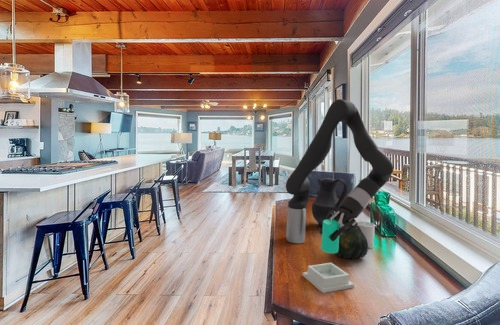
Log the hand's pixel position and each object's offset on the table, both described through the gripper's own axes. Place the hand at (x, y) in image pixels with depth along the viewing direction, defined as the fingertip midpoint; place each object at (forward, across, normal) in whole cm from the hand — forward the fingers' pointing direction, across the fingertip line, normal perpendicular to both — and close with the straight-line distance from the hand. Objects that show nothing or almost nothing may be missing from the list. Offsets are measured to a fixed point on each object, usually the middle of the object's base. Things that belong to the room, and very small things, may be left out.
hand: (326, 236), depth 104 cm
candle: (+2, 0, +5) cm, 6 cm away
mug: (-18, -27, +42) cm, 53 cm away
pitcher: (-17, -55, +42) cm, 71 cm away
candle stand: (+11, 0, +13) cm, 17 cm away
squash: (-6, -17, +30) cm, 35 cm away
